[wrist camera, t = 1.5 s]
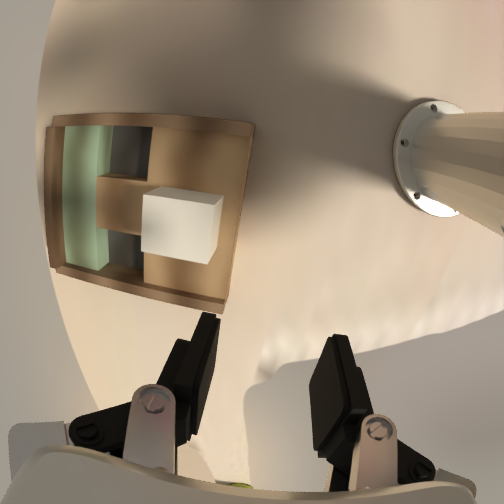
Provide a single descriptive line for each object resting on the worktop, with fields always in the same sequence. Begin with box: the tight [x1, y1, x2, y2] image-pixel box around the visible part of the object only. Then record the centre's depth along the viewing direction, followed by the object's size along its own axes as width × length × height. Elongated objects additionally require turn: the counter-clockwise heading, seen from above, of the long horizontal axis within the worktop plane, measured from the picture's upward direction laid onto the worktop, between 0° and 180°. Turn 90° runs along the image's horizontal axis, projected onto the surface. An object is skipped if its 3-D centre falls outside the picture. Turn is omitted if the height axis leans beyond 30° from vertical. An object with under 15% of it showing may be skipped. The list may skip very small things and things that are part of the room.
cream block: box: [141, 186, 224, 265], centre depth 25 cm, size 6×5×4 cm
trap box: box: [44, 113, 255, 314], centre depth 27 cm, size 21×18×5 cm
